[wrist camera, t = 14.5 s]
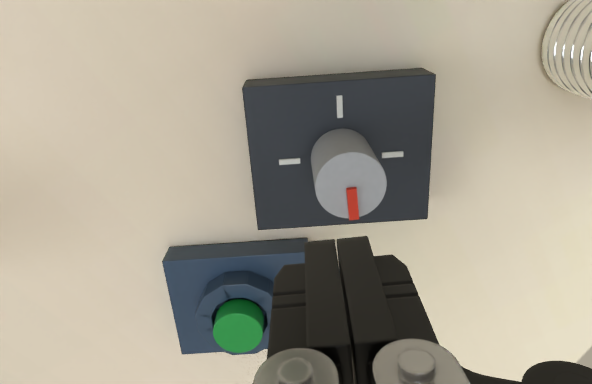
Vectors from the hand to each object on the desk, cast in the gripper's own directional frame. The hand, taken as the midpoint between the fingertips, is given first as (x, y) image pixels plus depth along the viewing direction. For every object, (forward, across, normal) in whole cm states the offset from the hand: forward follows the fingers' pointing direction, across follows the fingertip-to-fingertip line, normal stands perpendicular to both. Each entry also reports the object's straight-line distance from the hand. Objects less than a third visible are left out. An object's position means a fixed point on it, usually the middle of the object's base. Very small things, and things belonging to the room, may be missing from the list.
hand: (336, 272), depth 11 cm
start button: (+18, +7, +15) cm, 24 cm away
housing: (+22, +7, +15) cm, 27 cm away
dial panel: (+22, -1, +4) cm, 22 cm away
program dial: (+19, -1, +4) cm, 19 cm away
